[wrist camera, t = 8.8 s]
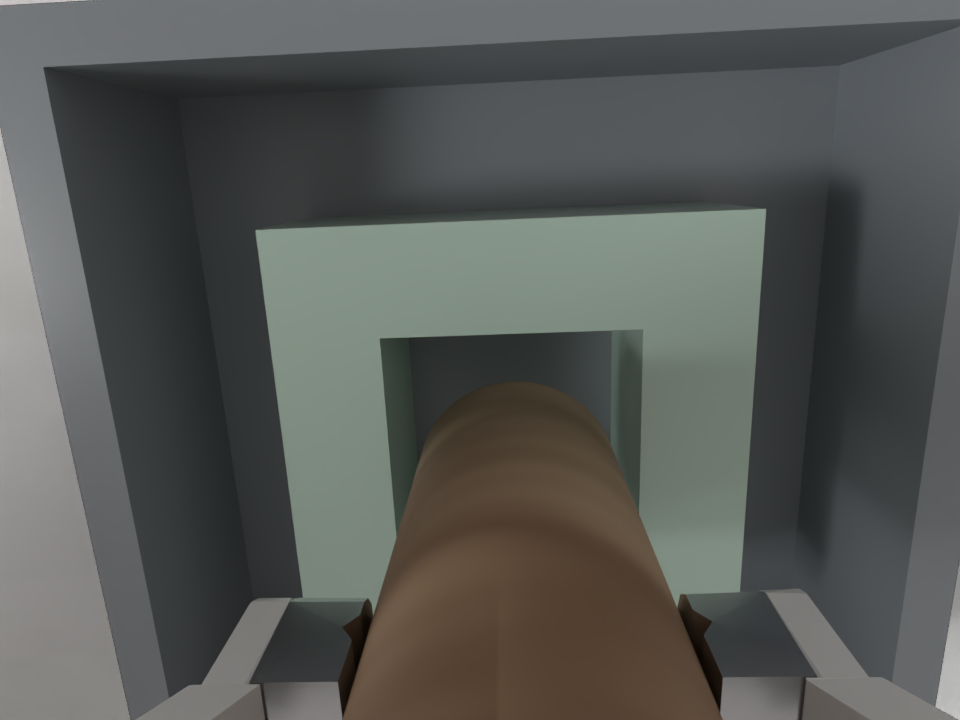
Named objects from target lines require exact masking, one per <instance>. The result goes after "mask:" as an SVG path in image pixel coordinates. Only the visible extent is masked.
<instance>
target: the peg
mask: <svg viewBox="0 0 960 720" xmlns="http://www.w3.org/2000/svg"><path fill="white" fill-rule="evenodd" d="M342 720H723V719H722V716H721V714H720V711H719V709H718V706H717V704H716V702H715V699H714V697H713V694H712V692H711V689H710V687H709V684H708V682H707V680H706V677H705V675H704V672H703V670H702V667H701V665H700V662H699V660H698V657H697V655H696V653H695V650H694V648H693V645H692V643H691V640H690V638H689V635H688V633H687V631H686V628H685V626H684V623H683V621H682V618H681V616H680V613H679V611H678V608H677V606H676V604H675V601H674V599H673V596H672V594H671V591H670V589H669V586H668V584H667V582H666V579H665V577H664V574H663V572H662V569H661V567H660V564H659V562H658V559H657V557H656V555H655V552H654V550H653V547H652V545H651V542H650V540H649V537H648V535H647V533H646V530H645V528H644V525H643V523H642V520H641V518H640V515H639V513H638V510H637V508H636V506H635V503H634V501H633V498H632V496H631V493H630V491H629V488H628V486H627V484H626V481H625V479H624V476H623V474H622V471H621V469H620V466H619V464H618V461H617V459H616V457H615V454H614V452H613V449H612V447H611V444H610V442H609V439H608V437H607V435H606V433H605V431H604V430H603V428H602V426H601V425H600V423H599V422H598V420H597V419H596V418H595V416H594V415H593V414H592V413H591V412H590V411H589V410H588V409H587V408H586V407H585V406H584V405H582V404H581V403H580V402H578V401H577V400H576V399H574V398H573V397H571V396H569V395H568V394H566V393H564V392H562V391H560V390H557V389H555V388H552V387H549V386H546V385H542V384H538V383H531V382H516V381H513V382H503V383H497V384H493V385H488V386H485V387H482V388H480V389H477V390H475V391H473V392H471V393H469V394H467V395H465V396H463V397H462V398H460V399H459V400H457V401H456V402H454V403H453V404H452V405H451V406H450V407H449V408H448V409H447V410H445V411H444V412H443V414H442V415H441V416H440V417H439V418H438V420H437V421H436V422H435V424H434V425H433V427H432V429H431V430H430V432H429V434H428V436H427V439H426V441H425V443H424V447H423V450H422V453H421V457H420V460H419V463H418V467H417V470H416V474H415V477H414V480H413V484H412V487H411V490H410V494H409V497H408V501H407V504H406V507H405V511H404V514H403V517H402V521H401V524H400V527H399V531H398V534H397V538H396V541H395V544H394V548H393V551H392V554H391V558H390V561H389V565H388V568H387V571H386V575H385V578H384V581H383V585H382V588H381V591H380V595H379V598H378V602H377V605H376V608H375V612H374V615H373V618H372V622H371V625H370V629H369V632H368V635H367V639H366V642H365V645H364V649H363V652H362V655H361V659H360V662H359V666H358V669H357V672H356V676H355V679H354V682H353V686H352V689H351V693H350V696H349V699H348V703H347V706H346V709H345V713H344V716H343V719H342Z"/></svg>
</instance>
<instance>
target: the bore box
mask: <svg viewBox="0 0 960 720" xmlns="http://www.w3.org/2000/svg"><path fill="white" fill-rule="evenodd" d="M0 128H1V133H2V137H3V142H4V146H5V151H6V155H7V160H8V165H9V169H10V174H11V178H12V183H13V187H14V192H15V196H16V201H17V205H18V210H19V215H20V219H21V224H22V228H23V233H24V237H25V242H26V246H27V251H28V255H29V260H30V265H31V269H32V274H33V278H34V283H35V287H36V292H37V296H38V301H39V305H40V310H41V314H42V319H43V324H44V328H45V333H46V337H47V342H48V346H49V351H50V355H51V360H52V364H53V369H54V374H55V378H56V383H57V387H58V392H59V396H60V401H61V405H62V410H63V414H64V419H65V424H66V428H67V433H68V437H69V442H70V446H71V451H72V455H73V460H74V464H75V469H76V473H77V478H78V483H79V487H80V492H81V496H82V501H83V505H84V510H85V514H86V519H87V523H88V528H89V533H90V537H91V542H92V546H93V551H94V555H95V560H96V564H97V569H98V573H99V578H100V583H101V587H102V592H103V596H104V601H105V605H106V610H107V614H108V619H109V623H110V628H111V632H112V637H113V642H114V646H115V651H116V655H117V660H118V664H119V669H120V673H121V678H122V682H123V687H124V692H125V696H126V701H127V705H128V710H129V714H130V719H131V720H136V719H138V718H139V717H141V716H142V715H144V714H145V713H147V712H148V711H150V710H152V709H153V708H155V707H156V706H158V705H159V704H161V703H162V702H164V701H166V700H167V699H169V698H170V697H172V696H173V695H175V694H176V693H178V692H179V691H181V690H183V689H184V688H186V687H187V686H189V685H202V683H203V681H204V680H205V678H206V676H207V674H208V673H209V671H210V669H211V668H212V666H213V664H214V663H215V661H216V659H217V658H218V656H219V654H220V653H221V651H222V649H223V648H224V646H225V644H226V643H227V641H228V639H229V638H230V636H231V634H232V633H233V631H234V629H235V628H236V626H237V624H238V623H239V621H240V619H241V618H242V616H243V614H244V612H245V611H246V609H247V607H248V606H249V604H250V603H251V602H252V601H254V600H256V599H258V598H293V599H295V598H368V599H369V600H370V602H371V604H372V610H373V615H374V612H375V608H376V605H377V602H378V598H379V595H380V591H381V588H382V585H383V581H384V578H385V575H386V571H387V568H388V565H389V561H390V558H391V554H392V551H393V548H394V544H395V541H396V538H397V534H398V531H399V527H400V524H401V521H402V517H403V514H404V511H405V507H406V504H407V501H408V497H409V494H410V490H411V487H412V484H413V480H414V477H415V474H416V470H417V467H418V463H419V460H420V457H421V453H422V450H423V447H424V443H425V441H426V439H427V436H428V434H429V432H430V430H431V429H432V427H433V425H434V424H435V422H436V421H437V420H438V418H439V417H440V416H441V415H442V414H443V412H444V411H445V410H447V409H448V408H449V407H450V406H451V405H452V404H453V403H454V402H456V401H457V400H459V399H460V398H462V397H463V396H465V395H467V394H469V393H471V392H473V391H475V390H477V389H480V388H482V387H485V386H488V385H493V384H497V383H503V382H513V381H516V382H531V383H538V384H542V385H546V386H549V387H552V388H555V389H557V390H560V391H562V392H564V393H566V394H568V395H569V396H571V397H573V398H574V399H576V400H577V401H578V402H580V403H581V404H582V405H584V406H585V407H586V408H587V409H588V410H589V411H590V412H591V413H592V414H593V415H594V416H595V418H596V419H597V420H598V422H599V423H600V425H601V426H602V428H603V430H604V431H605V433H606V435H607V437H608V439H609V442H610V444H611V447H612V449H613V452H614V454H615V457H616V459H617V461H618V464H619V466H620V469H621V471H622V474H623V476H624V479H625V481H626V484H627V486H628V488H629V491H630V493H631V496H632V498H633V501H634V503H635V506H636V508H637V510H638V513H639V515H640V518H641V520H642V523H643V525H644V528H645V530H646V533H647V535H648V537H649V540H650V542H651V545H652V547H653V550H654V552H655V555H656V557H657V559H658V562H659V564H660V567H661V569H662V572H663V574H664V577H665V579H666V582H667V584H668V586H669V589H670V591H671V594H672V596H673V599H674V601H675V604H676V606H677V608H678V602H679V597H680V594H694V593H725V592H757V591H760V590H780V589H800V590H802V591H804V592H806V593H807V595H808V596H809V597H810V599H811V600H812V601H813V603H814V604H815V605H816V607H817V608H818V609H819V611H820V612H821V614H822V615H823V616H824V618H825V619H826V620H827V622H828V623H829V624H830V626H831V627H832V628H833V630H834V631H835V632H836V634H837V635H838V636H839V638H840V639H841V640H842V642H843V643H844V644H845V646H846V647H847V648H848V650H849V651H850V652H851V654H852V655H853V657H854V658H855V659H856V661H857V662H858V663H859V665H860V666H861V667H862V669H863V670H864V671H865V673H866V674H867V675H868V677H883V678H884V679H886V680H888V681H890V682H892V683H893V684H895V685H897V686H899V687H900V688H902V689H904V690H906V691H908V692H909V693H911V694H913V695H915V696H917V697H918V698H920V699H922V700H924V701H925V702H927V703H929V704H931V705H933V706H934V707H935V705H936V699H937V693H938V687H939V681H940V675H941V669H942V663H943V657H944V651H945V645H946V639H947V633H948V627H949V621H950V615H951V609H952V603H953V597H954V591H955V585H956V579H957V573H958V567H959V561H960V0H89V1H71V2H54V3H36V4H18V5H1V6H0Z"/></svg>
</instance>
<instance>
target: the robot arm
mask: <svg viewBox="0 0 960 720" xmlns="http://www.w3.org/2000/svg"><path fill="white" fill-rule="evenodd" d="M678 611H679V613H680V616H681V618H682V621H683V623H684V626H685V628H686V631H687V633H688V635H689V638H690V640H691V643H692V645H693V648H694V650H695V653H696V655H697V657H698V660H699V662H700V665H701V667H702V670H703V672H704V675H705V677H706V680H707V682H708V684H709V687H710V689H711V692H712V694H713V697H714V699H715V702H716V704H717V706H718V709H719V711H720V714H721V716H722V719H723V720H958V719H956V718H954V717H952V716H950V715H949V714H947V713H945V712H943V711H942V710H940V709H938V708H936V707H934V706H933V705H931V704H929V703H927V702H925V701H924V700H922V699H920V698H918V697H917V696H915V695H913V694H911V693H909V692H908V691H906V690H904V689H902V688H900V687H899V686H897V685H895V684H893V683H892V682H890V681H888V680H886V679H884V678H883V677H868V675H867V674H866V673H865V671H864V670H863V669H862V667H861V666H860V665H859V663H858V662H857V661H856V659H855V658H854V657H853V655H852V654H851V652H850V651H849V650H848V648H847V647H846V646H845V644H844V643H843V642H842V640H841V639H840V638H839V636H838V635H837V634H836V632H835V631H834V630H833V628H832V627H831V626H830V624H829V623H828V622H827V620H826V619H825V618H824V616H823V615H822V614H821V612H820V611H819V609H818V608H817V607H816V605H815V604H814V603H813V601H812V600H811V599H810V597H809V596H808V595H807V593H806V592H804V591H802V590H800V589H780V590H760V591H757V592H725V593H694V594H680V597H679V602H678ZM372 618H373V610H372V604H371V602H370V600H369V599H368V598H295V599H293V598H258V599H256V600H254V601H252V602H251V603H250V604H249V606H248V607H247V609H246V611H245V612H244V614H243V616H242V618H241V619H240V621H239V623H238V624H237V626H236V628H235V629H234V631H233V633H232V634H231V636H230V638H229V639H228V641H227V643H226V644H225V646H224V648H223V649H222V651H221V653H220V654H219V656H218V658H217V659H216V661H215V663H214V664H213V666H212V668H211V669H210V671H209V673H208V674H207V676H206V678H205V680H204V681H203V683H202V685H189V686H187V687H186V688H184V689H183V690H181V691H179V692H178V693H176V694H175V695H173V696H172V697H170V698H169V699H167V700H166V701H164V702H162V703H161V704H159V705H158V706H156V707H155V708H153V709H152V710H150V711H148V712H147V713H145V714H144V715H142V716H141V717H139V718H138V719H136V720H342V719H343V716H344V713H345V709H346V706H347V703H348V699H349V696H350V693H351V689H352V686H353V682H354V679H355V676H356V672H357V669H358V666H359V662H360V659H361V655H362V652H363V649H364V645H365V642H366V639H367V635H368V632H369V629H370V625H371V622H372Z"/></svg>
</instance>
